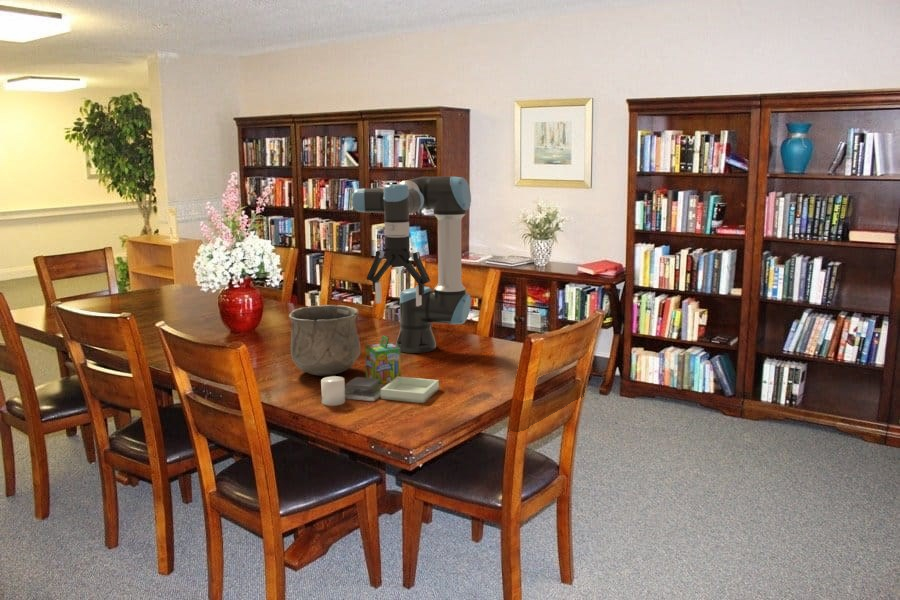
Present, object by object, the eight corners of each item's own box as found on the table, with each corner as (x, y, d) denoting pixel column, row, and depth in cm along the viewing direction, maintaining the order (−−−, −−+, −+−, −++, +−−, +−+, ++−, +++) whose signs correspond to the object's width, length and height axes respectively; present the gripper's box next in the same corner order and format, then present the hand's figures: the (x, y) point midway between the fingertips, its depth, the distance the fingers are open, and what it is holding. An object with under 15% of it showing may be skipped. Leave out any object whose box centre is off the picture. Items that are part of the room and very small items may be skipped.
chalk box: (365, 379, 257) (363, 335, 254) (390, 374, 261) (389, 332, 258) (376, 386, 249) (375, 341, 246) (402, 382, 253) (401, 338, 250)
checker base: (353, 384, 250) (352, 379, 250) (390, 388, 246) (390, 382, 246) (335, 397, 238) (334, 391, 238) (373, 401, 234) (373, 395, 234)
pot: (277, 371, 265) (274, 310, 261) (336, 359, 280) (334, 301, 276) (314, 388, 247) (312, 323, 242) (375, 374, 261) (374, 312, 257)
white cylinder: (328, 397, 238) (327, 375, 237) (349, 399, 236) (348, 377, 235) (317, 404, 232) (316, 382, 230) (338, 406, 230) (338, 384, 228)
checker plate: (356, 379, 247) (356, 376, 246) (379, 382, 244) (379, 379, 244) (345, 387, 239) (345, 384, 239) (369, 389, 237) (369, 386, 236)
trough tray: (397, 385, 250) (397, 376, 249) (438, 389, 245) (438, 380, 245) (380, 398, 237) (380, 389, 236) (423, 403, 232) (423, 393, 232)
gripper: (354, 235, 235) (356, 303, 240) (430, 238, 227) (431, 309, 231) (365, 232, 242) (367, 299, 247) (439, 235, 234) (440, 304, 238)
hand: (398, 304), depth 239 cm, fingers open, 13 cm apart
